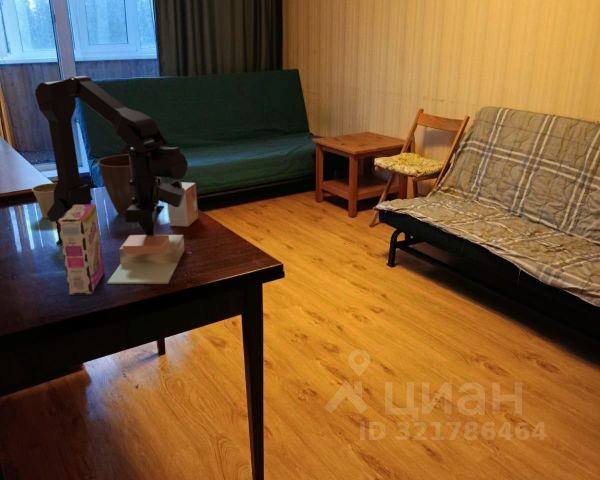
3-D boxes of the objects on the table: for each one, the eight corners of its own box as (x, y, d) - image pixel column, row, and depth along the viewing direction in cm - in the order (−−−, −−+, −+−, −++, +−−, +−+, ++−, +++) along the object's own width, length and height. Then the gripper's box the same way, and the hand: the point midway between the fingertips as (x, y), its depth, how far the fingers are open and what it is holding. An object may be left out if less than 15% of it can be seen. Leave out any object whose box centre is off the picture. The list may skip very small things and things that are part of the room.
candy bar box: (93, 294, 116) (82, 220, 110) (69, 296, 116) (55, 220, 110) (106, 272, 126) (96, 202, 120) (83, 273, 126) (72, 203, 120)
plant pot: (149, 202, 175) (144, 152, 169) (164, 215, 163) (158, 161, 157) (100, 210, 168) (92, 157, 162) (111, 224, 156) (104, 168, 150)
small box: (188, 227, 154) (185, 190, 150) (169, 226, 155) (165, 189, 151) (198, 218, 161) (196, 182, 157) (180, 216, 162) (177, 181, 158)
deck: (121, 265, 130) (118, 249, 129) (131, 250, 138) (129, 235, 137) (177, 264, 130) (175, 248, 129) (184, 250, 138) (183, 234, 137)
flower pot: (78, 214, 165) (74, 185, 162) (50, 223, 158) (44, 193, 154) (58, 208, 170) (53, 181, 166) (30, 217, 162) (24, 188, 159)
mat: (107, 283, 121) (107, 282, 121) (121, 265, 130) (120, 263, 130) (167, 283, 121) (167, 281, 121) (177, 264, 130) (177, 263, 130)
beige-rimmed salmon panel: (124, 254, 126) (122, 246, 125) (131, 243, 132) (130, 235, 131) (164, 253, 126) (163, 245, 125) (169, 243, 132) (168, 235, 131)
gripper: (171, 185, 118) (178, 253, 123) (187, 163, 135) (192, 224, 141) (118, 185, 118) (127, 254, 123) (141, 164, 135) (148, 225, 141)
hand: (151, 238), depth 132 cm, fingers closed
